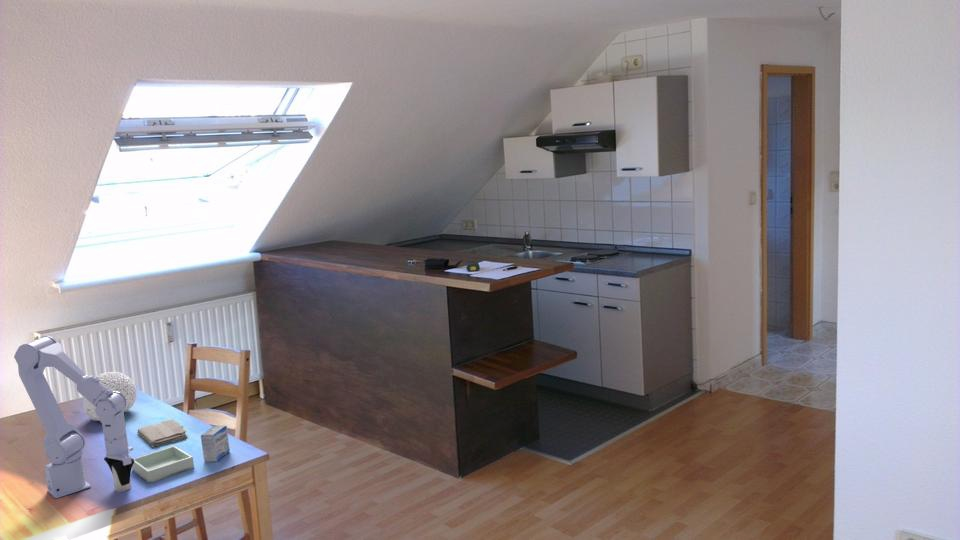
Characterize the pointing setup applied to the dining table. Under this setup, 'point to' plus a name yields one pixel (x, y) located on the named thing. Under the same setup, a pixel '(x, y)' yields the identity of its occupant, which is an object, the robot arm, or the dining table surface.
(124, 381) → the cauliflower
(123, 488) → the white capsule cylinder
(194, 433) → the dining table surface
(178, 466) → the tote
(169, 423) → the washcloth
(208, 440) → the medicine box
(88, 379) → the robot arm
